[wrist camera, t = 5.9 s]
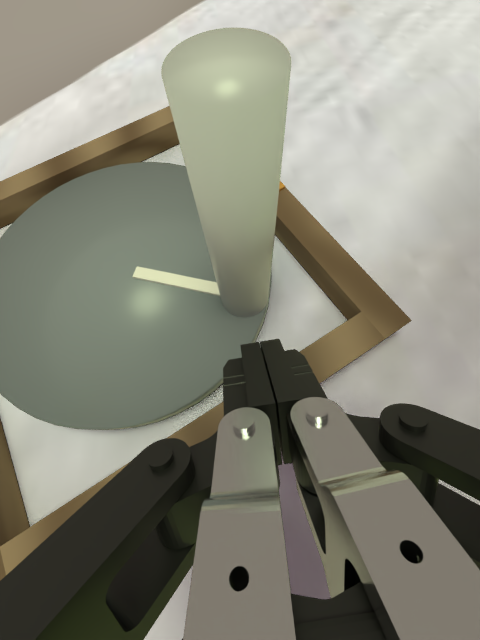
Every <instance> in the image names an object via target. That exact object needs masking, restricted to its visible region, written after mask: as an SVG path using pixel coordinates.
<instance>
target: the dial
mask: <svg viewBox="0 0 480 640" xmlns="http://www.w3.org/2000/svg"><path fill="white" fill-rule="evenodd" d="M290 70H291V57H290V53H289V51H288V50H287V48H286V47H285V46H284V44H283V43H281V42H280V41H279V40H278V39H276V38H275V37H273V36H271V35H269V34H266V33H264V32H261V31H257V30H252V29H246V28H223V29H215V30H211V31H207V32H203V33H200V34H197V35H194V36H192V37H190V38H188V39H186V40H184V41H183V42H181V43H180V44H178V45H177V46H176V47H175V48H173V49H172V50H171V51H170V53H169V54H168V55H167V57H166V58H165V60H164V62H163V65H162V79H163V83H164V86H165V90H166V94H167V98H168V101H169V105H170V109H171V113H172V116H173V120H174V124H175V128H176V131H177V135H178V139H179V143H180V146H181V150H182V154H183V158H184V161H185V165H186V166H181V165H176V164H170V163H158V162H138V163H129V164H121V165H116V166H111V167H107V168H103V169H100V170H97V171H93V172H90V173H87V174H85V175H83V176H80V177H78V178H75V179H73V180H71V181H69V182H67V183H65V184H63V185H61V186H59V187H57V188H56V189H54V190H53V191H51V192H50V193H48V194H46V195H45V196H43V197H42V198H41V199H39V200H38V201H37V202H36V203H34V204H33V205H32V206H30V207H29V208H28V209H27V210H26V211H25V212H24V213H23V214H22V215H21V216H19V217H18V218H17V219H16V220H15V221H14V223H13V224H12V225H11V226H10V227H9V228H8V229H7V231H6V232H5V233H4V234H3V236H2V237H1V238H0V393H1V395H2V396H3V397H5V398H6V399H7V400H8V401H10V402H11V403H12V404H13V405H14V406H16V407H17V408H19V409H20V410H22V411H24V412H26V413H27V414H29V415H31V416H33V417H35V418H37V419H40V420H43V421H46V422H48V423H51V424H54V425H58V426H64V427H69V428H75V429H94V430H116V429H125V428H134V427H139V426H143V425H147V424H151V423H155V422H159V421H161V420H164V419H166V418H169V417H171V416H174V415H176V414H179V413H181V412H182V411H184V410H186V409H188V408H190V407H191V406H193V405H195V404H197V403H199V402H200V401H201V400H203V399H204V398H205V397H207V396H208V395H209V394H211V393H212V392H213V391H215V390H216V389H217V388H218V387H219V386H220V385H221V384H223V367H224V366H225V364H226V363H227V361H228V360H229V359H236V358H242V354H241V346H240V345H242V344H249V343H255V341H256V339H257V337H258V334H259V332H260V330H261V328H262V325H263V322H264V319H265V315H266V312H267V308H268V303H269V295H270V287H271V267H272V257H273V247H274V236H275V226H276V216H277V205H278V195H279V184H280V174H281V164H282V153H283V143H284V133H285V122H286V112H287V101H288V91H289V81H290Z"/></svg>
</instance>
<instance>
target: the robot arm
mask: <svg viewBox="0 0 480 640" xmlns="http://www.w3.org/2000/svg"><path fill="white" fill-rule="evenodd" d="M240 346H241V354H242V358H236V359H229V360H228V361H227V363H226V364H225V366H224V367H223V386H224V387H223V402H224V417H223V418H222V420H221V421H220V423H219V426H218V430H217V431H216V433H214V434H213V435H212V436H211V437H209V438H208V439H206V440H204V441H202V442H199V443H197V444H195V445H193V446H190V447H189V446H188V445H187V444H186V442H184V441H183V440H180V439H177V438H166V439H162V440H159V441H157V442H155V443H153V444H151V445H149V446H148V447H147V448H145V449H144V450H143V451H142V452H141V453H140V454H139V455H138V456H136V457H135V458H134V459H133V460H132V461H131V462H130V463H129V464H128V465H127V466H126V467H124V468H123V469H122V470H121V471H120V472H119V473H118V474H117V475H116V476H115V477H113V478H112V479H111V480H110V481H109V482H108V483H107V484H106V485H105V486H104V487H103V488H101V489H100V490H99V491H98V492H97V493H96V494H95V495H94V496H93V497H92V498H90V499H89V500H88V501H87V502H86V503H85V504H84V505H83V506H82V507H81V508H80V509H78V510H77V511H76V512H75V513H74V514H73V515H72V516H71V517H70V518H69V519H67V520H66V521H65V522H64V523H63V524H62V525H61V526H60V527H59V528H58V529H56V530H55V531H54V532H53V533H52V534H51V535H50V536H49V537H48V538H47V539H46V540H44V541H43V542H42V543H41V544H40V545H39V546H38V547H37V548H36V549H35V550H33V551H32V552H31V553H30V554H29V555H28V556H27V557H26V558H25V559H24V560H23V561H21V562H20V563H19V564H18V565H17V566H16V567H15V568H14V569H13V570H12V571H10V572H9V573H8V574H7V575H6V576H5V577H4V578H3V579H2V580H1V581H0V640H144V638H145V636H146V635H147V633H148V632H149V630H150V629H151V627H152V626H153V624H154V623H155V621H156V620H157V618H158V617H159V615H160V614H161V612H162V611H163V609H164V608H165V606H166V605H167V603H168V602H169V600H170V598H171V597H172V595H173V594H174V592H175V591H176V589H177V588H178V586H179V585H180V583H181V582H182V580H183V579H184V577H185V576H186V574H187V573H188V571H189V570H190V568H191V567H192V565H193V571H192V578H191V585H190V593H189V600H188V607H187V615H186V622H185V629H184V637H183V639H182V640H480V505H478V504H476V503H474V502H472V501H470V500H468V499H467V498H465V497H463V496H461V495H459V494H457V493H456V492H454V491H452V490H450V489H448V488H446V487H445V486H443V485H441V484H439V483H438V481H439V479H440V480H442V481H444V482H445V483H447V484H449V485H451V486H453V487H455V488H457V489H459V490H460V491H462V492H464V493H466V494H468V495H470V496H472V497H474V498H475V499H477V500H479V501H480V430H479V429H477V428H474V427H471V426H469V425H466V424H464V423H461V422H459V421H456V420H453V419H451V418H448V417H446V416H443V415H441V414H438V413H436V412H433V411H430V410H428V409H425V408H423V407H420V406H416V405H412V404H393V405H390V406H388V407H386V408H385V409H384V410H383V411H382V412H381V415H380V418H370V417H359V416H353V415H349V414H347V413H345V412H344V411H343V409H342V408H341V407H340V406H339V405H338V404H337V403H335V402H333V401H331V400H329V399H328V398H327V397H326V395H325V393H324V391H323V389H322V387H321V386H320V384H319V382H318V380H317V378H316V376H315V374H314V373H313V371H312V369H311V367H310V366H309V363H308V361H307V360H306V358H305V356H304V355H303V354H301V353H300V352H298V351H297V350H295V349H294V350H287V351H284V349H283V347H282V344H281V342H280V340H279V339H275V340H268V341H261V342H260V344H259V342H255V343H249V344H242V345H240ZM260 347H261V348H260ZM280 448H281V450H280ZM281 452H282V456H283V461H284V464H288V463H293V467H294V471H295V474H296V486H297V490H298V493H299V496H300V499H301V502H302V505H303V508H304V511H305V514H306V516H307V519H308V522H309V525H310V528H311V531H312V534H313V537H314V539H315V542H316V545H317V548H318V551H319V554H320V557H321V560H322V563H323V567H324V570H325V575H326V580H327V584H328V589H329V593H330V596H331V599H326V600H324V599H317V598H311V597H306V596H300V595H295V594H291V589H290V580H289V572H288V564H287V556H286V547H285V539H284V531H283V522H282V514H281V506H280V497H279V487H280V478H279V470H278V465H282V459H281Z"/></svg>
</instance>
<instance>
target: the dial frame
mask: <svg viewBox="0 0 480 640" xmlns="http://www.w3.org/2000/svg"><path fill="white" fill-rule="evenodd" d="M177 144H180V143H179V139H178V135H177V131H176V128H175V124H174V120H173V116H172V113H171V109H170V106H168V107H166V108H164V109H162V110H159V111H157V112H155V113H153V114H150V115H148V116H146V117H144V118H142V119H139V120H137V121H135V122H133V123H130V124H128V125H126V126H124V127H121V128H119V129H117V130H115V131H112V132H110V133H108V134H106V135H103V136H101V137H99V138H97V139H94V140H92V141H90V142H88V143H86V144H83V145H81V146H79V147H77V148H74V149H72V150H70V151H68V152H65V153H63V154H61V155H59V156H56V157H54V158H52V159H50V160H47V161H45V162H43V163H41V164H38V165H36V166H34V167H32V168H30V169H27V170H25V171H23V172H21V173H18V174H16V175H14V176H12V177H9V178H7V179H5V180H3V181H0V228H2V227H4V226H6V225H8V224H10V223H12V222H14V221H15V220H16V219H17V218H18V217H19V216H21V215H22V214H23V213H24V212H25V211H26V210H27V209H28V208H29V207H30V206H32V205H33V204H34V203H36V202H37V201H38V200H39V199H41V198H42V197H43V196H45V195H46V194H48V193H50V192H51V191H53V190H54V189H56V188H57V187H59V186H61V185H63V184H65V183H67V182H69V181H71V180H73V179H75V178H78V177H80V176H83V175H85V174H87V173H90V172H93V171H97V170H100V169H103V168H107V167H111V166H116V165H121V164H129V163H138V162H142V161H144V160H146V159H148V158H150V157H152V156H154V155H156V154H158V153H161V152H163V151H165V150H167V149H169V148H171V147H173V146H175V145H177ZM275 235H276V236H277V237H278V238H279V239H280V241H281V242H282V243H283V244H284V245H285V247H286V248H287V249H288V250H289V251H290V252H291V254H292V255H293V256H294V257H295V258H296V260H297V261H298V262H299V263H300V264H301V265H302V267H303V268H304V269H305V270H306V271H307V272H308V274H309V275H310V276H311V277H312V278H313V280H314V281H315V282H316V283H317V284H318V285H319V287H320V288H321V289H322V290H323V291H324V293H325V294H326V295H327V296H328V297H329V298H330V300H331V301H332V302H333V303H334V304H335V305H336V307H337V308H338V309H339V310H340V311H341V313H342V314H343V315H344V316H345V317H346V318H347V320H348V321H346V322H345V323H343V324H342V325H340V326H339V327H337V328H336V329H334V330H332V331H331V332H329V333H328V334H326V335H325V336H323V337H322V338H320V339H319V340H317V341H316V342H314V343H312V344H311V345H309V346H308V347H306V348H305V349H303V350H302V351H300V353H301V354H303V355H304V356H305V358H306V360H307V361H308V363H309V366H310V367H311V369H312V371H313V373H314V374H315V376H316V378H317V380H318V382H319V384H320V383H321V382H323V381H324V380H326V379H327V378H328V377H330V376H331V375H333V374H334V373H336V372H337V371H339V370H340V369H342V368H343V367H345V366H346V365H348V364H349V363H351V362H352V361H353V360H355V359H356V358H358V357H359V356H361V355H362V354H364V353H365V352H367V351H368V350H370V349H371V348H373V347H374V346H375V345H377V344H378V343H380V342H381V341H383V340H384V339H386V338H387V337H389V336H390V335H392V334H393V333H395V332H396V331H397V330H399V329H400V328H402V327H403V326H405V325H406V324H407V323H409V322H410V321H411V319H410V318H409V317H408V316H407V315H406V314H405V313H404V312H403V311H402V310H401V309H400V308H399V307H398V306H397V305H396V304H395V303H394V302H393V300H392V299H391V298H390V297H389V296H388V295H387V294H386V293H385V292H384V291H383V290H382V289H381V288H380V287H379V286H378V285H377V284H376V282H375V281H374V280H373V279H372V278H371V277H370V276H369V275H368V274H367V273H366V272H365V271H364V270H363V269H362V268H361V267H360V266H359V265H358V263H357V262H356V261H355V260H354V259H353V258H352V257H351V256H350V255H349V254H348V253H347V252H346V251H345V250H344V249H343V248H342V247H341V245H340V244H339V243H338V242H337V241H336V240H335V239H334V238H333V237H332V236H331V235H330V234H329V233H328V232H327V231H326V230H325V229H324V228H323V226H322V225H321V224H320V223H319V222H318V221H317V220H316V219H315V218H314V217H313V216H312V215H311V214H310V213H309V212H308V211H307V210H306V208H305V207H304V206H303V205H302V204H301V203H300V202H299V201H298V200H297V199H296V198H295V197H294V196H293V195H292V194H291V193H290V192H289V191H288V189H287V188H286V187H285V186H284V185H283V183H282V182H281V181H280V184H279V195H278V205H277V216H276V226H275ZM223 417H224V402H222V403H220V404H219V405H217V406H216V407H214V408H212V409H211V410H209V411H208V412H206V413H205V414H203V415H202V416H200V417H199V418H197V419H196V420H194V421H193V422H191V423H189V424H188V425H186V426H185V427H183V428H182V429H180V430H179V431H177V432H176V433H174V434H173V435H171V436H169V437H168V438H177V439H180V440H183V441H184V442H186V444H187V445H188V446H189V447H190V446H193V445H195V444H197V443H199V442H202V441H204V440H206V439H208V438H209V437H211V436H212V435H213V434H214V433H216V431H217V430H218V426H219V423H220V421H221V420H222V418H223ZM129 463H130V462H129ZM129 463H128V464H129ZM128 464H126V465H125V466H123V467H122V468H120V469H119V470H117V471H116V472H114V473H113V474H111V475H109V476H108V477H106V478H105V479H103V480H102V481H100V482H99V483H97V484H96V485H94V486H93V487H91V488H89V489H88V490H86V491H85V492H83V493H82V494H80V495H79V496H77V497H76V498H74V499H73V500H71V501H69V502H68V503H66V504H65V505H63V506H62V507H60V508H59V509H57V510H56V511H54V512H53V513H51V514H50V515H48V516H46V517H45V518H43V519H42V520H40V521H39V522H37V523H36V524H34V525H33V526H31V527H30V526H29V523H28V519H27V515H26V512H25V508H24V504H23V501H22V497H21V493H20V490H19V486H18V482H17V479H16V475H15V471H14V468H13V464H12V460H11V457H10V453H9V449H8V445H7V442H6V438H5V434H4V431H3V427H2V423H1V420H0V581H1V580H2V579H3V578H4V577H5V576H6V575H7V574H8V573H9V572H10V571H12V570H13V569H14V568H15V567H16V566H17V565H18V564H19V563H20V562H21V561H23V560H24V559H25V558H26V557H27V556H28V555H29V554H30V553H31V552H32V551H33V550H35V549H36V548H37V547H38V546H39V545H40V544H41V543H42V542H43V541H44V540H46V539H47V538H48V537H49V536H50V535H51V534H52V533H53V532H54V531H55V530H56V529H58V528H59V527H60V526H61V525H62V524H63V523H64V522H65V521H66V520H67V519H69V518H70V517H71V516H72V515H73V514H74V513H75V512H76V511H77V510H78V509H80V508H81V507H82V506H83V505H84V504H85V503H86V502H87V501H88V500H89V499H90V498H92V497H93V496H94V495H95V494H96V493H97V492H98V491H99V490H100V489H101V488H103V487H104V486H105V485H106V484H107V483H108V482H109V481H110V480H111V479H112V478H113V477H115V476H116V475H117V474H118V473H119V472H120V471H121V470H122V469H123V468H124V467H126V466H127V465H128Z"/></svg>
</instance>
